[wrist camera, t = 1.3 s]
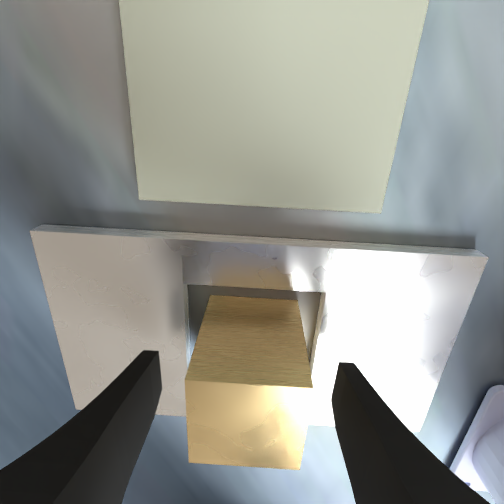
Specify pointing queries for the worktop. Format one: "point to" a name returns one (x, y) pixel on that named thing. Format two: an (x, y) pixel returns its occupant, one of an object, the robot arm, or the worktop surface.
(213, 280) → the rail plate
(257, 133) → the tile
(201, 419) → the light wood cube
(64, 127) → the worktop surface
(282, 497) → the worktop surface
